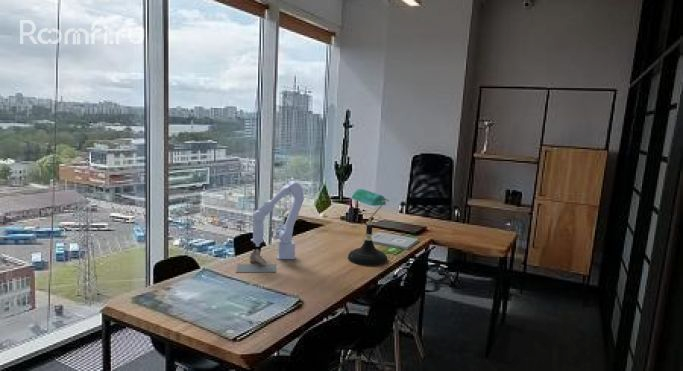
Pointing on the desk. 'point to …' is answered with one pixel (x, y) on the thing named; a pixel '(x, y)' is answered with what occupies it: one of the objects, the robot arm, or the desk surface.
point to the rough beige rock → (257, 257)
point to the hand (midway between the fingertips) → (257, 255)
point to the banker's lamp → (368, 233)
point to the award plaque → (393, 240)
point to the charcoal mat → (256, 268)
